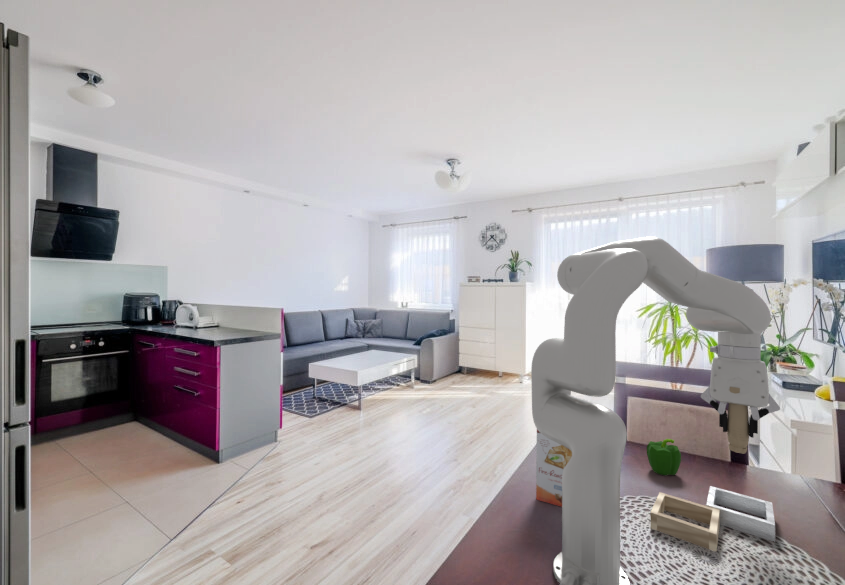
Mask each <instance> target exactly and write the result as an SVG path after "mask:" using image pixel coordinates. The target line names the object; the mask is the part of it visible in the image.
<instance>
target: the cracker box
mask: <svg viewBox="0 0 845 585" xmlns="http://www.w3.org/2000/svg"><path fill="white" fill-rule="evenodd" d="M571 457H572V451H571V450H569V449H568V448H566V447H564V446H563V445H561V444H559V443H557V442H555V441H553V440H551V439H549V438H547V437H545V436H544V435H542V434H541V433H540V432H539V431H538V430H537V429H536V462H535V463H536V466H535V468H536V470H535V474H536V476H535V478H536V481H535V485H536V486H535V487H536V488H535V490H536V491H535V492H536V493H535V498H536V499H535V500H537V501H540V502H544V503H547V504H551V505H555V506H558V507H560V508H562V475H563V471H564V468H565V466H566V465H567V463H568V462H569V461H570V459H571Z"/></svg>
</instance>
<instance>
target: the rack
mask: <svg viewBox="0 0 845 585" xmlns="http://www.w3.org/2000/svg"><path fill="white" fill-rule="evenodd" d="M665 512H668V513H671V514H674V515H677V516H681V517H684V518H687V519H689V520H692V521H696V522H698V523H703V524H705V525H707V526H709V528H706V527H704V526H700V525H698V524H695V523H692V522H690V521H689V522H688V521H686V520H683V519H679V518H677V517H674V516H670V515H669V514H666V513H665ZM720 528H721V527H720V510H718V509H715V508H711V507H708V506H706V504H705V505H704V504H701V503H697V502H695V501H690V500H688V499H684V498H681V497H677V496H674V495H671V494H667V493H665V492H661V491H659V492H658V495H657V497H656V499H655V501H654V503H653V506H652V509H651V510H650V530H651V529H652V530H653V531H657V532H659V533H662V534H665V535H668V536H671V537H674V538H676V539H678V540H682V541H683V542H684V541H685V542H688V543H689V544H694V545H695V546H699V547H701V548H704V549H707V550H710V551H712V552H715V553H717V552H718V544H719V536H720V535H719V534H720Z"/></svg>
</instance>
